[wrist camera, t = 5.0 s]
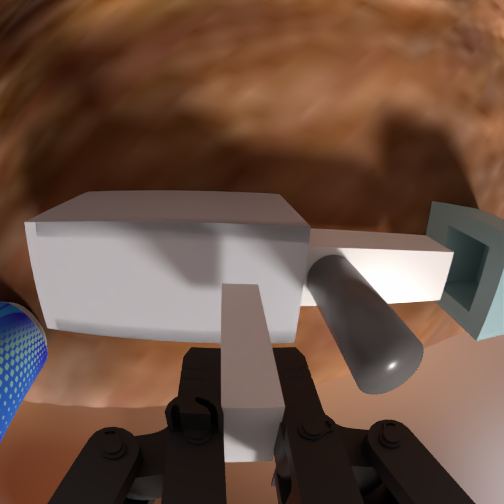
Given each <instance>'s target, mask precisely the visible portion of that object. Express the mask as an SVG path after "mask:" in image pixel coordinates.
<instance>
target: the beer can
mask: <svg viewBox="0 0 504 504" xmlns="http://www.w3.org/2000/svg"><path fill="white" fill-rule="evenodd" d="M47 357H48V349H47V340H46V335H45V333H44V330H43V328H42V326H41V324H40V323H39V321H38V320H37V319H36V318H35V316H34V315H33V314H32V313H31V312H30V311H29V310H27V309H26V308H25V307H23V306H21V305H19V304H17V303H12V302H0V442H1V440H2V438H3V436H4V434H5V432H6V430H7V428H8V426H9V424H10V423H11V421H12V419H13V417H14V415H15V413H16V411H17V410H18V408H19V406H20V404H21V402H22V401H23V399H24V397H25V395H26V394H27V392H28V390H29V389H30V387H31V385H32V384H33V382H34V380H35V379H36V377H37V375H38V374H39V372H40V370H41V369H42V367H43V366H44V364H45V362H46V360H47Z"/></svg>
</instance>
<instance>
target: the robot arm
mask: <svg viewBox="0 0 504 504" xmlns="http://www.w3.org/2000/svg"><path fill="white" fill-rule="evenodd" d="M180 378H181V379H180V384H179V391H178V397H175V398H174V399H173V400H172V401H171V402H170V403H168V405H167V408H166V410H165V415H166V419H167V424H168V427H166V428H165V429H163V430H161V431H159V432H156V433H152V434H147V435H140V436H133V434H132V433H130V432H128V431H126V430H125V429H123V428H118V427H107V428H103V429H101V430H99V431H96V432H95V433H94V434H93V435H92V436H91V437H90V438H89V440H88V442H87V443H86V444H85V446H84V448H83V449H82V451H81V452H80V454H79V455H78V457H77V458H76V460H75V461H74V463H73V464H72V466H71V467H70V469H69V471H68V472H67V474H66V475H65V477H64V478H63V480H62V482H61V483H60V485H59V486H58V488H57V489H56V491H55V493H54V494H53V496H52V497H51V499H50V501H49V502H48V504H154V502H155V499H157V498H162V501H161V504H227V503H226V482H225V462H256V461H272V459H273V455H274V456H275V462H276V468H275V471H274V475H273V478H272V483H271V486H275V485H276V491H277V498H278V504H475V503H474V502H473V500H472V499H471V498H470V497H469V496H468V495H467V494H466V493H465V491H464V490H463V489H462V488H461V487H460V486H459V485H458V484H457V483H456V481H455V480H454V479H453V478H452V477H451V476H450V475H449V473H448V472H447V471H446V470H445V469H444V468H443V467H442V466H441V465H440V463H439V462H438V461H437V460H436V459H435V458H434V457H433V455H432V454H431V453H430V452H429V451H428V450H427V449H426V448H425V446H424V445H423V444H422V443H421V442H420V441H419V440H418V439H417V437H416V436H415V435H414V434H413V433H412V432H411V431H410V430H409V429H408V428H407V427H406V426H405V425H403V424H402V423H400V422H397V421H395V420H382V421H378V422H376V423H375V424H373V425H372V426H371V428H370V429H369V430H362V429H352V428H346V427H342V426H339V425H337V424H335V422H334V421H333V420H332V419H331V418H330V417H328V416H327V415H325V413H324V411H323V409H322V406H321V403H320V400H319V397H318V394H317V391H316V388H315V385H314V382H313V379H312V378H311V374H310V371H309V369H308V365H307V362H306V359H305V356H304V355H303V354H302V353H301V352H300V351H299V350H298V349H297V348H296V347H287V348H272V345H271V341H270V336H269V332H268V327H267V322H266V318H265V313H264V309H263V304H262V300H261V295H260V291H259V286H258V284H224V283H222V294H221V348H195V347H191V348H190V350H189V351H188V352H187V353H186V354H185V356H184V357H183V364H182V370H181V377H180Z"/></svg>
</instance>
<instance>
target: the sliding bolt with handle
mask: <svg viewBox="0 0 504 504" xmlns="http://www.w3.org/2000/svg"><path fill="white" fill-rule="evenodd" d="M453 254H454V252H453V251H451V250H449V249H448V248H446V247H445V246H443V245H441V244H440V243H438V242H436V241H434V240H433V239H431V238H429V237H428V236H426V235H412V234H398V233H383V232H367V231H350V230H331V229H312V228H311V231H310V239H309V247H308V255H307V262H306V270H305V277H304V284H303V291H302V298H301V304H300V306H318V308H319V310H320V312H321V314H322V316H323V318H324V320H325V322H326V324H327V326H328V328H329V330H330V332H331V334H332V336H333V338H334V340H335V341H336V343H337V345H338V347H339V349H340V351H341V353H342V355H343V357H344V359H345V361H346V363H347V365H348V367H349V369H350V371H351V373H352V376H353V378H354V379H355V382H356V384H357V386H358V387H359V389H360V390H361V391H362V392H364V393H367V394H382V393H386V392H389V391H391V390H393V389H395V388H397V387H399V386H400V385H401V384H403V383H404V382H406V381H407V380H408V379H409V378H410V377H411V376H412V375H413V374H414V373H415V371H416V370H417V368H418V367H419V365H420V363H421V361H422V357H423V346H422V343H421V342H420V341H419V340H418V338H417V337H416V336H415V335H414V334H413V332H412V331H411V330H410V329H409V328H408V327H407V325H406V324H405V323H404V322H403V321H402V320H401V318H400V317H399V316H398V315H397V314H396V313H395V311H394V310H393V309H392V308H391V307H390V306H389V305H388V304H387V303H404V302H420V301H434V300H440V299H441V296H442V293H443V289H444V286H445V283H446V280H447V276H448V273H449V269H450V265H451V262H452V258H453Z"/></svg>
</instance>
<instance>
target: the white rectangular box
mask: <svg viewBox="0 0 504 504" xmlns="http://www.w3.org/2000/svg"><path fill="white" fill-rule="evenodd" d="M24 223H25V230H26V237H27V243H28V249H29V255H30V260H31V265H32V270H33V275H34V279H35V284H36V288H37V292H38V296H39V300H40V304H41V308H42V311H43V315H44V318H45V322H46V325H47V328H51V329H57V330H64V331H71V332H79V333H86V334H95V335H103V336H113V337H123V338H134V339H147V340H161V341H178V342H201V343H221V294H222V283H224V284H258V286H259V291H260V295H261V300H262V304H263V309H264V313H265V318H266V322H267V327H268V332H269V336H270V341H271V343H294V341H295V335H296V329H297V323H298V317H299V311H300V304H301V298H302V291H303V284H304V277H305V270H306V262H307V255H308V247H309V239H310V231H311V226H310V225H309V224H308V223H307V222H306V221H305V220H304V219H303V218H302V217H301V216H300V215H299V214H298V213H297V212H296V211H295V210H294V208H293V207H292V206H291V205H290V204H289V203H288V202H287V201H286V200H285V199H284V198H283V197H282V196H281V195H280V194H271V193H251V192H225V191H180V190H134V191H91V192H86V193H84V194H81V195H79V196H77V197H75V198H73V199H70V200H68V201H66V202H64V203H62V204H60V205H58V206H55V207H53V208H51V209H49V210H47V211H45V212H43V213H41V214H39V215H37V216H35V217H33V218H31V219H30V220H28V221H26V222H24Z"/></svg>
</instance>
